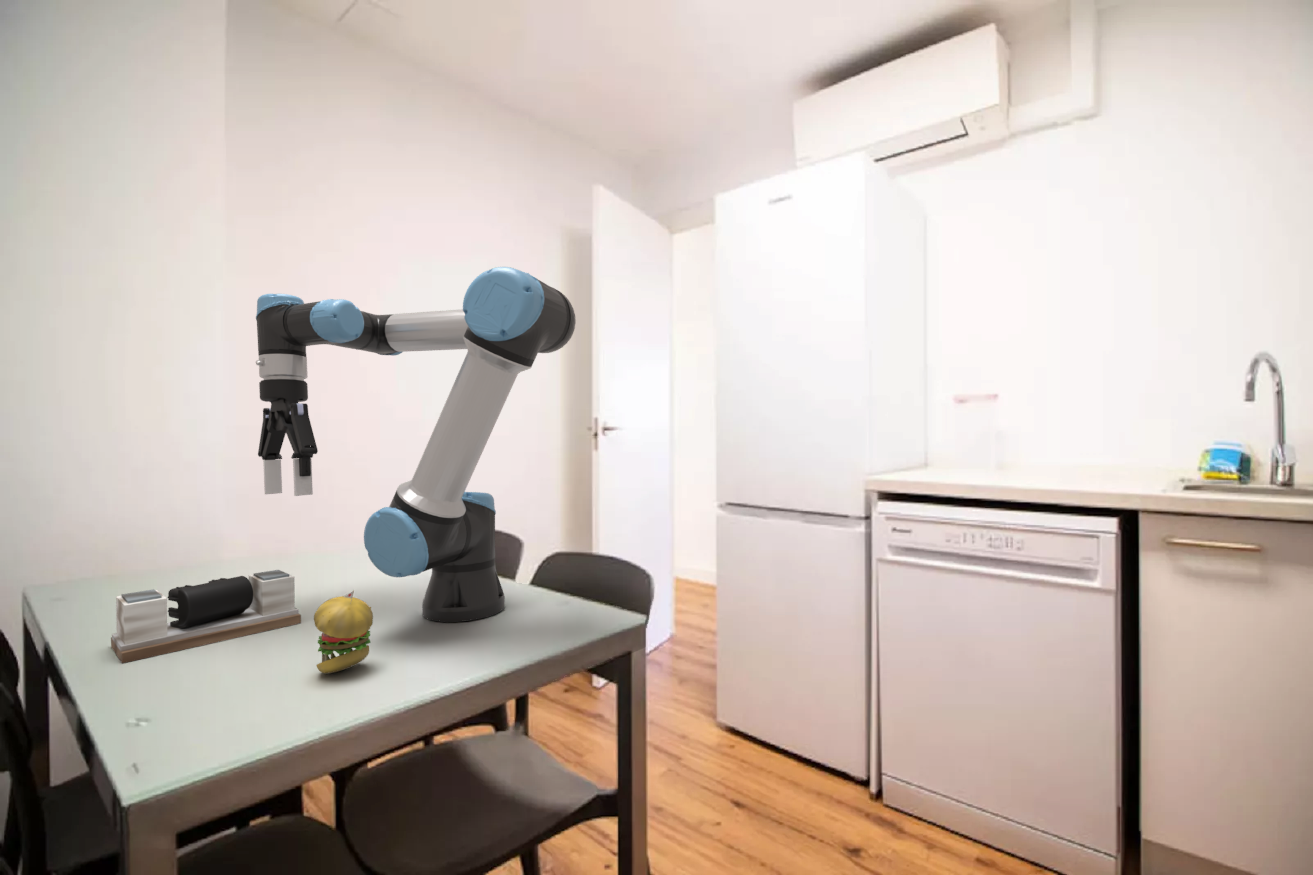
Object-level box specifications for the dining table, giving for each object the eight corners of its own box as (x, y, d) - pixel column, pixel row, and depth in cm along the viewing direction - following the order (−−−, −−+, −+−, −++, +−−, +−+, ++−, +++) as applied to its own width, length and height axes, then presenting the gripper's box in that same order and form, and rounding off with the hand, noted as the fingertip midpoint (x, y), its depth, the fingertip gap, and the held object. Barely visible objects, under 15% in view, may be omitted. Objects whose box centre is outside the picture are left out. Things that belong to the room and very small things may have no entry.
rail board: (300, 623, 105) (300, 575, 105) (122, 663, 86) (121, 605, 86) (280, 611, 112) (279, 566, 112) (111, 646, 94) (110, 593, 94)
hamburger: (352, 658, 88) (351, 579, 88) (385, 666, 85) (384, 584, 85) (302, 677, 81) (301, 592, 81) (336, 687, 78) (335, 598, 78)
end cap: (189, 632, 93) (188, 590, 93) (165, 626, 96) (164, 586, 96) (254, 615, 102) (254, 577, 102) (230, 610, 105) (230, 573, 105)
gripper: (235, 385, 111) (239, 495, 111) (288, 371, 96) (293, 498, 96) (279, 387, 117) (283, 491, 117) (335, 374, 102) (340, 493, 102)
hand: (287, 494), depth 107 cm, fingers open, 13 cm apart
